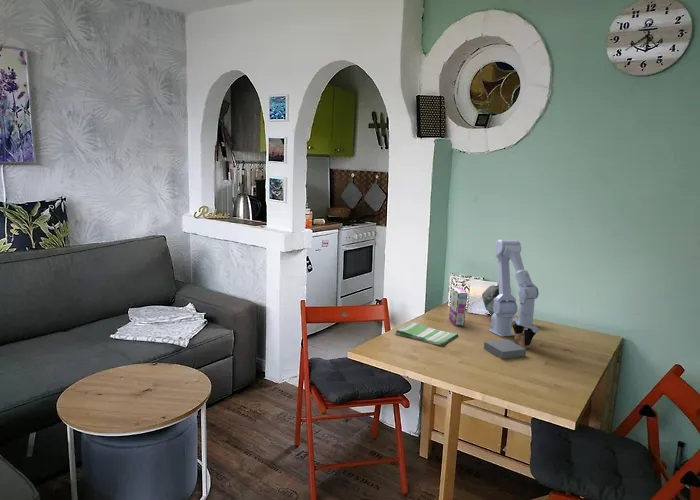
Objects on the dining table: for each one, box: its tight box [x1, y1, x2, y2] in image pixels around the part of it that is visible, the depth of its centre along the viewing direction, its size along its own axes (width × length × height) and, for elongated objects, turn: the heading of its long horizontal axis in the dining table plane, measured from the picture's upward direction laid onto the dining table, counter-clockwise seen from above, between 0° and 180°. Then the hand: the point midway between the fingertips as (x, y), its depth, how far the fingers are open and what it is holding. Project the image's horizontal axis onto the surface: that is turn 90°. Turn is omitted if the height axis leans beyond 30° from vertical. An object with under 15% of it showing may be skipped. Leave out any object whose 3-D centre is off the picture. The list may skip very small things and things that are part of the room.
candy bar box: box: [448, 287, 468, 327], centre depth 249 cm, size 11×5×16 cm, turn 5°
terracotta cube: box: [513, 332, 533, 349], centre depth 221 cm, size 5×5×5 cm
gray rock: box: [481, 284, 507, 321], centre depth 258 cm, size 14×15×18 cm
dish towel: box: [395, 321, 459, 347], centre depth 229 cm, size 18×23×3 cm
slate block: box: [483, 338, 527, 360], centre depth 213 cm, size 12×12×3 cm
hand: (522, 342), depth 222 cm, fingers closed on terracotta cube, 5 cm apart
